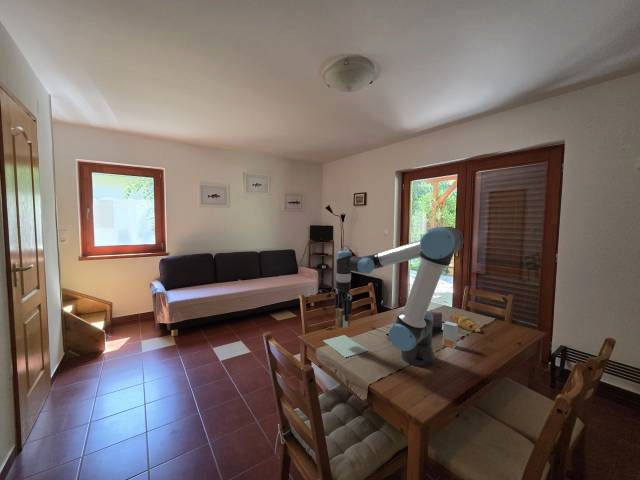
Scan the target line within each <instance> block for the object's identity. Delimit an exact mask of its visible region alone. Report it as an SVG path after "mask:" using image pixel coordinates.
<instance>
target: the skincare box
mask: <svg viewBox="0 0 640 480" xmlns="http://www.w3.org/2000/svg"><path fill="white" fill-rule="evenodd" d="M442 330H443V331H442V344H441V345H442V346H445V347H448V348H452V349H454V350H455V348H456V347H457V345H458V333H459V327H458V324H455V323H453V322H452V321H447V320H445V322H444V323H443V327H442Z"/></svg>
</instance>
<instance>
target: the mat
mask: <svg viewBox="0 0 640 480" xmlns="http://www.w3.org/2000/svg"><path fill="white" fill-rule="evenodd" d="M322 342H324V343H325V344H326V345H327V346H329V347H330V348H331V349H332V348H333V349H332V350H334V351H335V350H336V351H337V352H336V351H335V352H336V353H337V354H339V353H340V354H341V357H343V356H344V357H345V358H344V357H343V358H344V359H347V358H350V356H351V357H353V355H354V356H356V355H359V354H363V353H365V352H369V350H368V349H367V348H365V347H364V346H362V345H360V344H359V343H358V342H356V341H355V340H353V339H351V338H350V337H348V336H347V335H345V334H343V335H339V336H336V337H331V338H328V339H323V340H322ZM340 354H339V355H340ZM346 357H347V358H346Z"/></svg>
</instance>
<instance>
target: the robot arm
mask: <svg viewBox="0 0 640 480" xmlns="http://www.w3.org/2000/svg"><path fill="white" fill-rule="evenodd" d="M463 244H464V236H463V234H462V232H461V231H460V230H459V229H457V228H456V227H453V226H435V227H431V228H430V229H427V230H426V231H424V233H423V234H422V235H421V238H420V239H419V240H416V241H413V242H410V243H406V244H404V245H400V246H396V247H393V248H389V249H386V250H384V251H383V250H382V251H381V252H378V253H374V254H370V255H363V256H355V255H352V254H353V253H352V251H351V250H338V251H337V252H336V258H335V259H336V275H335V276H336V277H335V280H336V281H335V287H336V290H335V289H334V293H333V294H334V309H335V310H336V308H341V307H343V309H344V314H343V328H346V327H349V326H348V315H350V316H351V315H352V310H353V299H354V296H353V295H351V294H350V289H351V288H352V281H351V280H352V272H355V273H360V274H363V275H364V274H368V275H369V274H371V273H372V272H373V271H374V270H376V269H382V268H384V267H387V266H391V265H397V264H400V263H403V262H407V261H411V260H416V259H419V258H420V260H421V261H420V263H419V267H418V268H417V271H416V275H415V277H414V280H413V282H412V286H411V288H410V292H409V294H408V297H407V300H406V303H405V306H404V309H403V310H401V311H399V312H398V314H397V317H396V318H395V319H396V320H395V322H394V323H393V324H392V325H391V326H390V327H389V328H388V338H389V340H390V342H391V344H392V345H393V346H394V347H395V348H396V349H398V350H400V356H401V358H402V360H403V361H405V362H406V363H408V364H410V365H413V366H417V367H430V366H433V365H434V364H435V362H436V356H435V353H434V348H433V346H432V345H433V344H432V341H433V322H434V319H433V317H434V316H433V314H432V312H430V311H428V308H429V307H430V304H431V303H432V302H431V301H432V299H433V296H434V293H435V290H436V289H437V287H438V286H437V285H438V283H439V280H440V278H441V275H442V273H443V271H444V268H446V267H449V266H450V264H451V263H452V259H453V256H454V254H456V253H458V252H459V251H460V250H461V249H462V247H463Z"/></svg>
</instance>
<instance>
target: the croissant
mask: <svg viewBox="0 0 640 480" xmlns="http://www.w3.org/2000/svg"><path fill="white" fill-rule="evenodd" d="M449 318H450V321H451V322H452V323H455V324H458V328H460V329H463V330H467V331H471V332H475V333H479V332H480V333H481V332H482V331H481V327H479V325H478V324H477V322H475V320H472V319H471V318H470V317H469V316H467V315H463V314H462V315H457V316H455V315H451V316H449Z"/></svg>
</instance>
